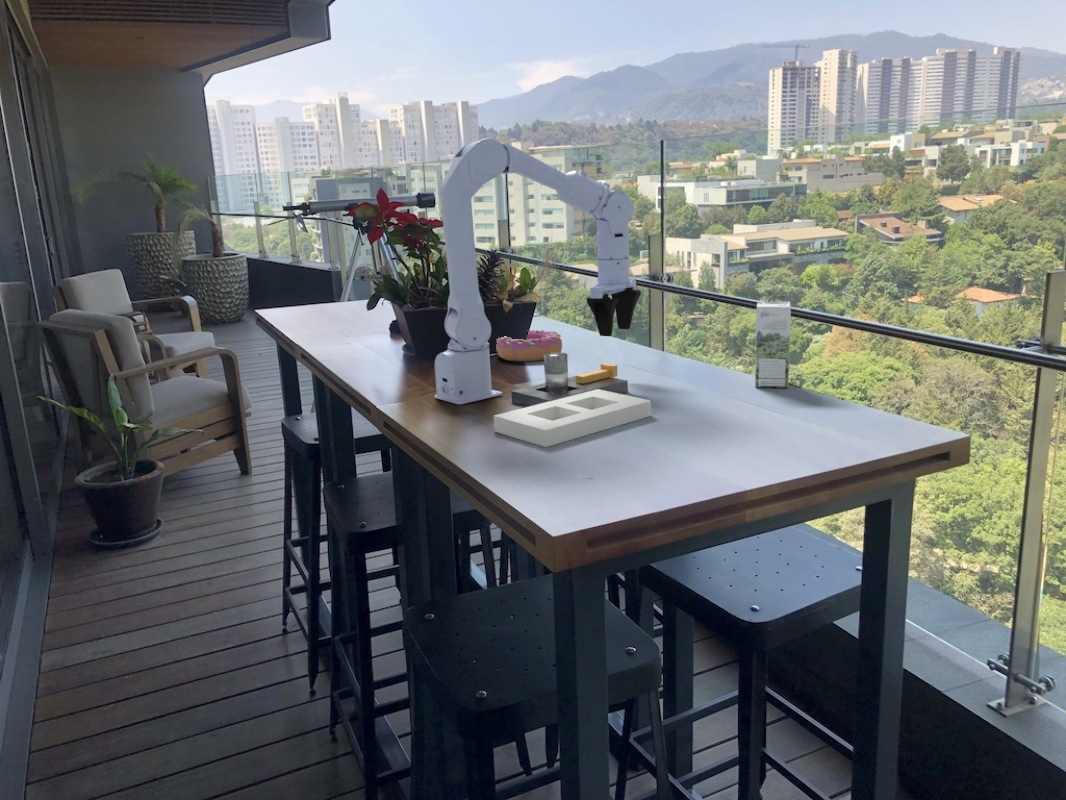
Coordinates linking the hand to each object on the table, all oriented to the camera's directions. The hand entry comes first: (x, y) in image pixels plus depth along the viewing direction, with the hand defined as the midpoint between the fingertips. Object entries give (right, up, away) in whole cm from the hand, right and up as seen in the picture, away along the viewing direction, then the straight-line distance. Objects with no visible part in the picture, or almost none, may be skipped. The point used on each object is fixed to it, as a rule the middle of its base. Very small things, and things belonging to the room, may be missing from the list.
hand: (615, 332), depth 161 cm
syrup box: (+27, -10, -8) cm, 30 cm away
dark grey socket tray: (-9, -12, -10) cm, 18 cm away
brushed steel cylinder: (-11, -13, -12) cm, 20 cm away
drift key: (-4, -9, -6) cm, 12 cm away
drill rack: (-9, -16, -26) cm, 32 cm away
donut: (-16, -3, +28) cm, 32 cm away
